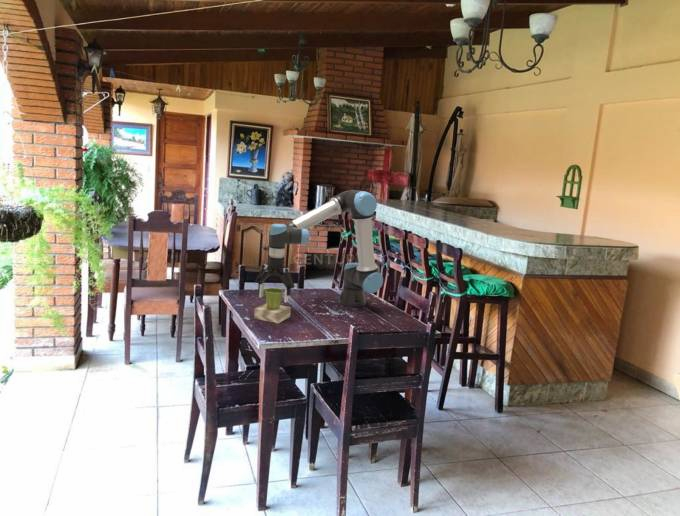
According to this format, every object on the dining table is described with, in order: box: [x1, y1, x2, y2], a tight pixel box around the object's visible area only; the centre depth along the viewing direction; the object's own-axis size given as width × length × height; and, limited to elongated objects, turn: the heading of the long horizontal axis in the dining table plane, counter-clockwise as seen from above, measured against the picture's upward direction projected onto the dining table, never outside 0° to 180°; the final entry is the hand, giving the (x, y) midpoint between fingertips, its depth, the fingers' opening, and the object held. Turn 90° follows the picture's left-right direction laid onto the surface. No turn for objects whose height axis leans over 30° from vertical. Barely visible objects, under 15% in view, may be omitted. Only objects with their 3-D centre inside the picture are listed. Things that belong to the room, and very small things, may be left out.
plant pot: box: [264, 287, 285, 309], centre depth 256 cm, size 9×9×9 cm
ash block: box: [253, 302, 292, 324], centre depth 257 cm, size 13×13×5 cm
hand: (273, 299), depth 256 cm, fingers open, 13 cm apart
